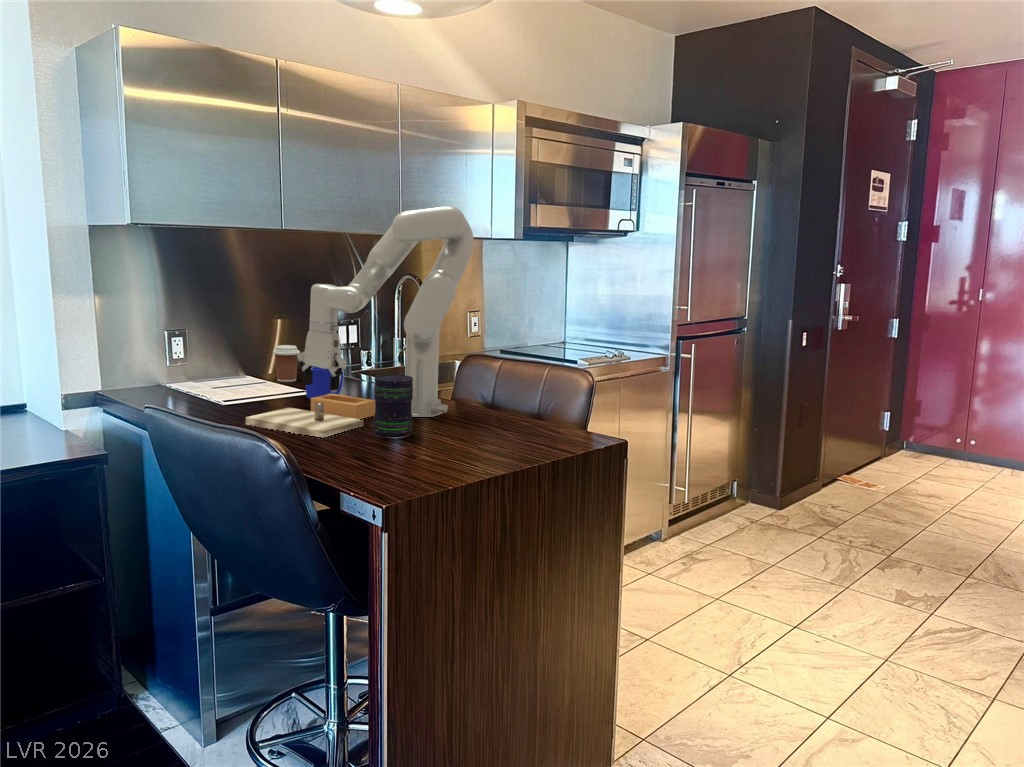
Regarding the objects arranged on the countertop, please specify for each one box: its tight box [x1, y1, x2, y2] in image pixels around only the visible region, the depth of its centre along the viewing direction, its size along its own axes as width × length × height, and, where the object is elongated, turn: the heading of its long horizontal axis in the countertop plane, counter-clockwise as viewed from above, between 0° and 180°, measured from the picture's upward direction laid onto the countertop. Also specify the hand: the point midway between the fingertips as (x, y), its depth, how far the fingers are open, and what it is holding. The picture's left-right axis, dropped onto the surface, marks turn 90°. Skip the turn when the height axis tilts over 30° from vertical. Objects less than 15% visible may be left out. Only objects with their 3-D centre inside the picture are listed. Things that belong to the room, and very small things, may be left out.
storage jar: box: [373, 374, 413, 437], centre depth 194 cm, size 10×10×15 cm
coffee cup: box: [272, 344, 301, 383], centre depth 265 cm, size 9×9×12 cm
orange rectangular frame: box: [310, 393, 375, 420], centre depth 215 cm, size 16×9×4 cm, turn 63°
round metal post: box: [315, 402, 324, 421], centre depth 199 cm, size 2×2×4 cm
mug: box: [304, 367, 344, 400], centre depth 235 cm, size 8×12×10 cm
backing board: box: [245, 407, 364, 438], centre depth 200 cm, size 26×16×2 cm, turn 63°
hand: (320, 387), depth 217 cm, fingers open, 9 cm apart
